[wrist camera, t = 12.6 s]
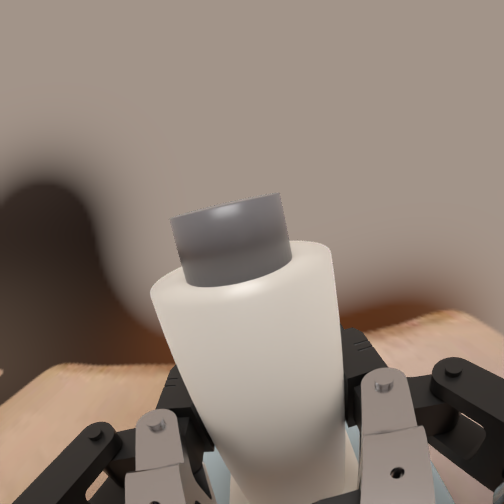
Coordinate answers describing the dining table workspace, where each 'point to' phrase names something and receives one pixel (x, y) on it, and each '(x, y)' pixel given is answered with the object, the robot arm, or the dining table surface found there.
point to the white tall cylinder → (260, 350)
